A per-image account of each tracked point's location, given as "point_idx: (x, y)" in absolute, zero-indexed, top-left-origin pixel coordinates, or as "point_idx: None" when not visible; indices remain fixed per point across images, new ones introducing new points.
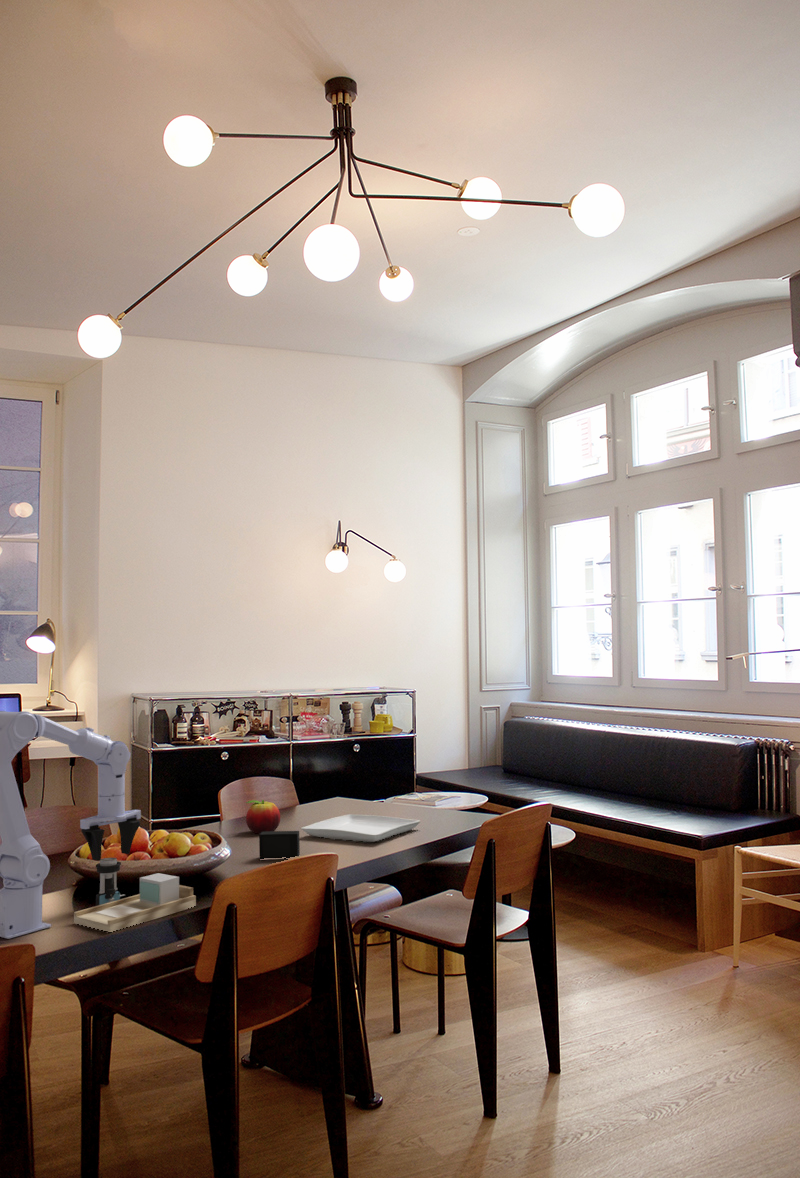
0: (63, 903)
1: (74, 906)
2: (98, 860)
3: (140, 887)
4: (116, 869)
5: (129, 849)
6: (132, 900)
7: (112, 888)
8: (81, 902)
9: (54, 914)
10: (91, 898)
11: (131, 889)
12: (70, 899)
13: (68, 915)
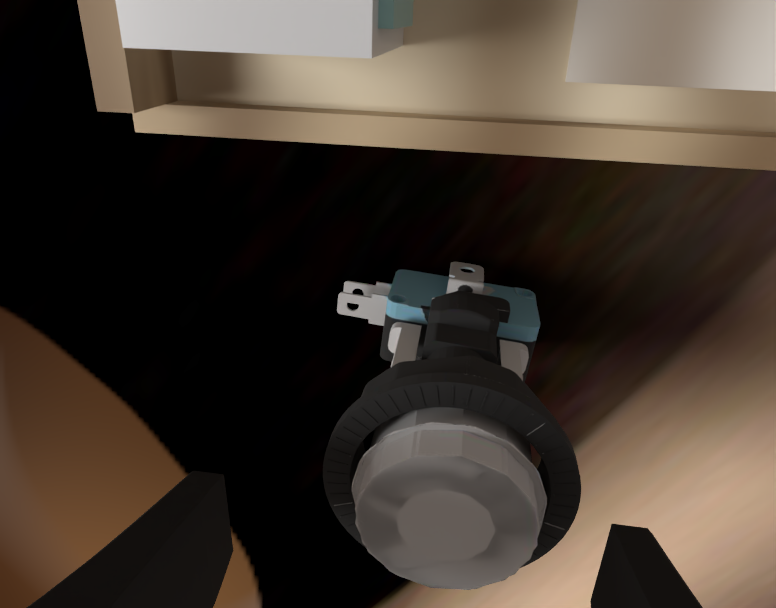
0: None
1: None
2: (647, 528)
3: (399, 21)
4: (437, 368)
5: (176, 500)
6: (422, 113)
7: (448, 325)
8: None
9: (742, 434)
10: None
11: (166, 431)
12: None
13: (736, 351)
